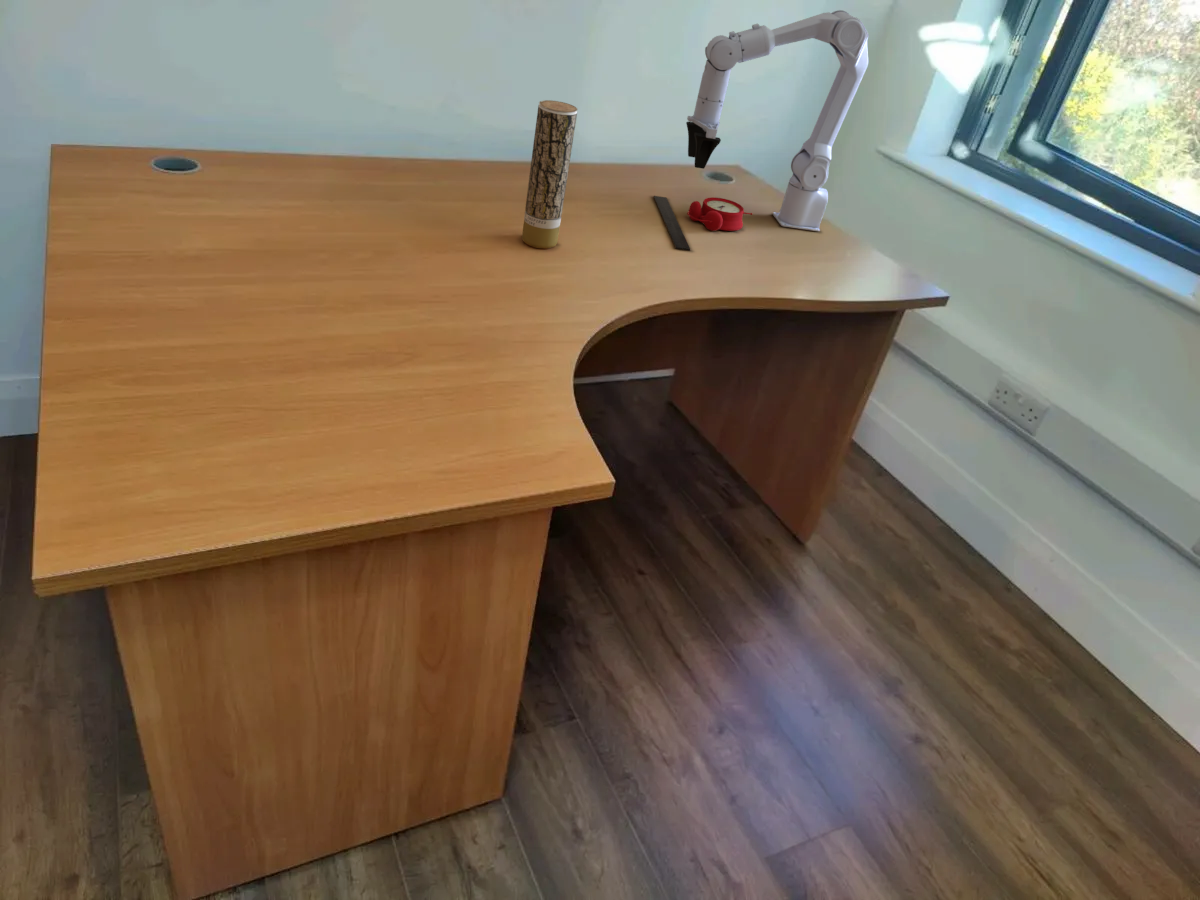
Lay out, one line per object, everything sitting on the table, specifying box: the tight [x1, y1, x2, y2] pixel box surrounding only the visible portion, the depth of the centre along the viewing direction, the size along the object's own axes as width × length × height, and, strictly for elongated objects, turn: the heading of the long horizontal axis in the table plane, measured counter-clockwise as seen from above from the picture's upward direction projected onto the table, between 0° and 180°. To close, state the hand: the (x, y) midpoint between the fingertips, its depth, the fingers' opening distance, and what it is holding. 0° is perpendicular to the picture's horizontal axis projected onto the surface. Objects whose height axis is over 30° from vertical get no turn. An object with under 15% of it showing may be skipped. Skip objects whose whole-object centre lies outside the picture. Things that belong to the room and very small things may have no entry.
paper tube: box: [521, 99, 579, 250], centre depth 151 cm, size 7×7×25 cm
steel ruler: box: [653, 195, 691, 252], centre depth 180 cm, size 3×30×1 cm, turn 6°
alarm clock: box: [686, 197, 753, 232], centre depth 183 cm, size 10×6×15 cm
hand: (695, 162), depth 185 cm, fingers open, 7 cm apart
